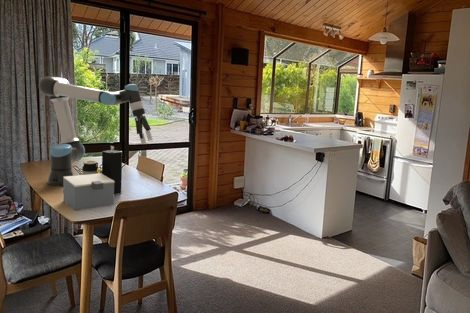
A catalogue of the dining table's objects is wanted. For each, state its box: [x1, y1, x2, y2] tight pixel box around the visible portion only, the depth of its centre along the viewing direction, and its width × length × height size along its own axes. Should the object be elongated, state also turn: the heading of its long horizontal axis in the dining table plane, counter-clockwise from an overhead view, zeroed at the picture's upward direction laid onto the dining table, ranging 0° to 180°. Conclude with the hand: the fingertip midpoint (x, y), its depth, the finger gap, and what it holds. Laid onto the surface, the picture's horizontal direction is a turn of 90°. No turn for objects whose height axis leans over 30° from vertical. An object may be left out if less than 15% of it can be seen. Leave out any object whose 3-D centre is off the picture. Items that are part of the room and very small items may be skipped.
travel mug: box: [81, 160, 98, 175], centre depth 214 cm, size 8×8×18 cm
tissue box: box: [101, 145, 123, 196], centre depth 214 cm, size 8×8×28 cm
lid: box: [63, 172, 115, 190], centre depth 193 cm, size 24×20×3 cm
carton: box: [62, 179, 115, 211], centre depth 196 cm, size 18×20×12 cm
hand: (147, 142), depth 235 cm, fingers open, 13 cm apart
